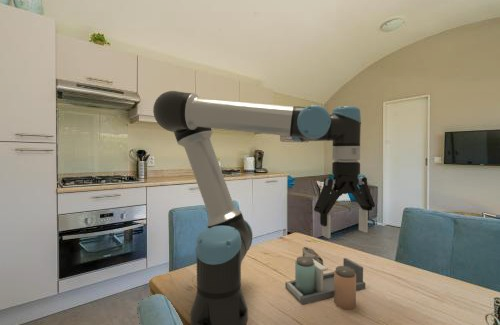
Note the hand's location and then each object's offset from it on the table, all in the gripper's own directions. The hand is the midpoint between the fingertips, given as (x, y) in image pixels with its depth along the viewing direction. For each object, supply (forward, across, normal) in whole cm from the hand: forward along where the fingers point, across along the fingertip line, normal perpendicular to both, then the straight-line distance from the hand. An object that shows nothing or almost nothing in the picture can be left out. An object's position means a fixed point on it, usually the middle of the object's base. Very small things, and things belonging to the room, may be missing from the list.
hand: (345, 234), depth 74 cm
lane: (+20, 0, +9) cm, 22 cm away
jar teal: (+20, -8, +9) cm, 23 cm away
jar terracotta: (+21, 0, 0) cm, 21 cm away
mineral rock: (+21, +7, +26) cm, 34 cm away
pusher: (+20, -3, +9) cm, 22 cm away
